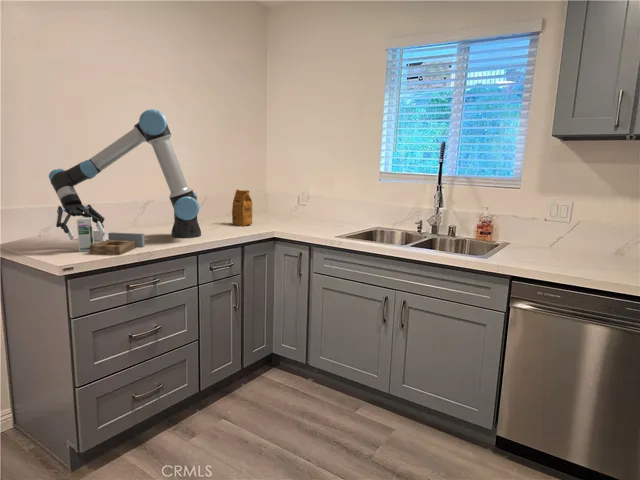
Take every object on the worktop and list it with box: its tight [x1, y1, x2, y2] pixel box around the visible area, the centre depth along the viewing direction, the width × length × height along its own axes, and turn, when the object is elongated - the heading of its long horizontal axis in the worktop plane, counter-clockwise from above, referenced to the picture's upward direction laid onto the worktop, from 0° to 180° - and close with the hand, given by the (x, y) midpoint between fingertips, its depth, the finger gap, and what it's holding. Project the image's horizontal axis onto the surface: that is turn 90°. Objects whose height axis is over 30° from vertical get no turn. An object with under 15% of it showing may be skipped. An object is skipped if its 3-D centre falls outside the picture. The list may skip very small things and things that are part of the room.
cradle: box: [89, 239, 136, 256], centre depth 192 cm, size 13×13×4 cm
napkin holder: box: [93, 228, 107, 242], centre depth 218 cm, size 15×11×6 cm
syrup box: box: [76, 216, 95, 253], centre depth 192 cm, size 6×6×14 cm
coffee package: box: [231, 188, 253, 227], centre depth 275 cm, size 10×12×22 cm
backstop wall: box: [107, 232, 146, 248], centre depth 204 cm, size 16×2×6 cm, turn 86°
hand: (88, 236), depth 191 cm, fingers open, 12 cm apart
